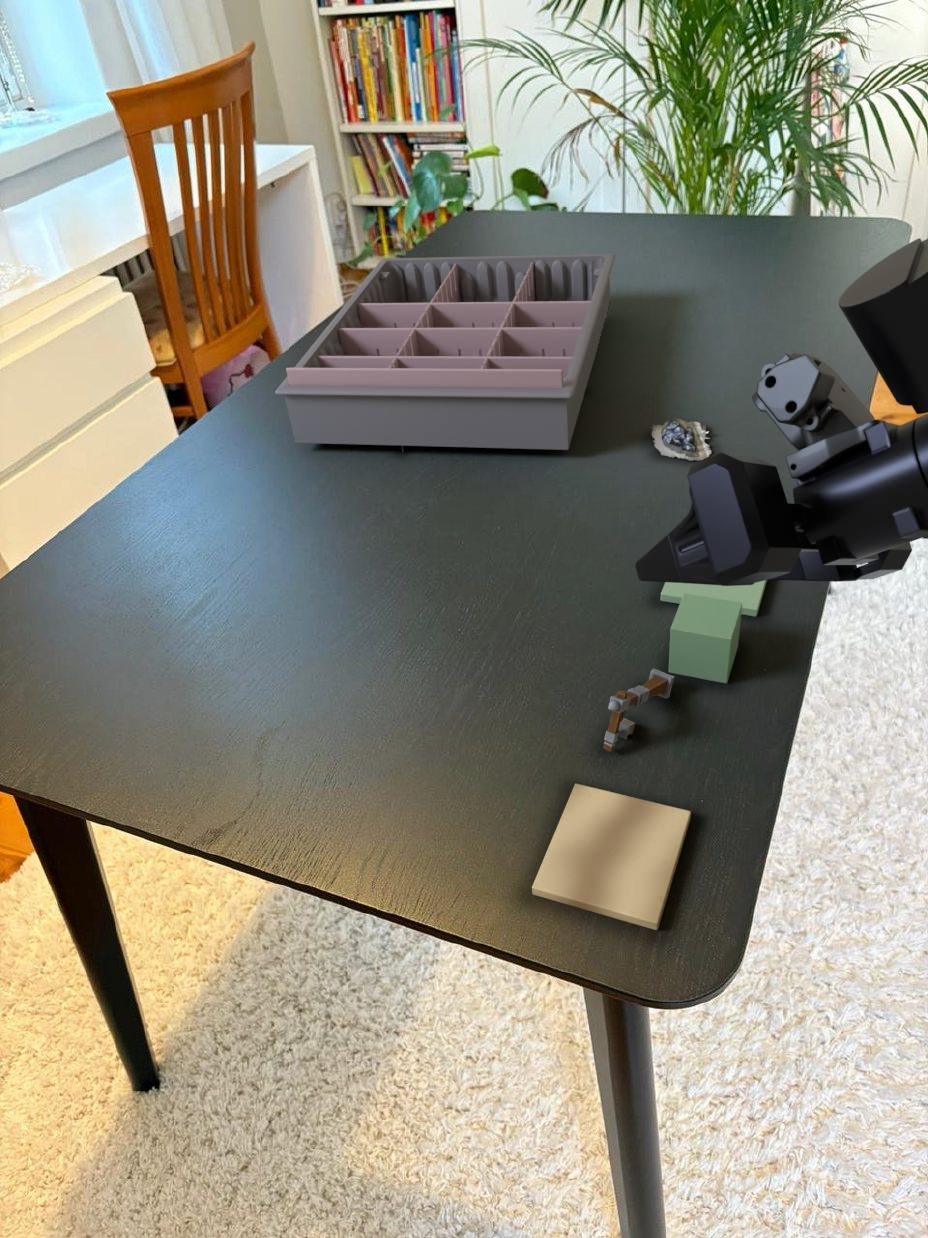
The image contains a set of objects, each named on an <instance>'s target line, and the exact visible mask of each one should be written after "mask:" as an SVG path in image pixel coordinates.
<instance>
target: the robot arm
mask: <svg viewBox="0 0 928 1238" xmlns="http://www.w3.org/2000/svg"><path fill="white" fill-rule="evenodd" d="M837 303H838V307H839V308H840V310H841V312H842V313H843V315H844V316H845V319H846V320H847V322H848V323H849V325H850V327H851V328H852V330H853V331H854V334H855V335H856V337H857V338H858V340H859V342H860V344H861V345H862V347H863V348H864V350H865V352H866V353H867V355H868V357H869V358H870V360H871V361H872V363H873V365H874V367H875V368H876V370H877V372H878V374H879V375H880V376H881V378H882V380H883V382H884V383H885V385H886V387H887V388H888V390H889V392H890V393H891V395H892V397H893V398H894V400H895V402H896V403H898V404H899V405H900V406H908V407H912V409H913V410H914V413H915V414H916V415H921V416H918V417H916V418H914V419H912V420H909V421H907V422H904V423H903V424H896V423H892V422H888V421H886V420H884V419H883V420H882V419H880V418H879V419H876V418H875V416H874V415H873V414H872V412H871V411H870V409H868V407H867V406H866V405H865V404H864V403H863V402H862V400H861V399H860V398H859V397H858V396H857V395H856V393H855V392H854V391H853V390H852V389H851V387H850V386H849V385H848V384H847V383H846V382H845V381H844V379H843V378H842V377H841V376H840V375H839V374H838V372H836V370H834V368H832V366H830V365H829V364H827V363H826V362H824V361H822V360H821V359H820V358H818V357H816V356H813V355H809V354H807V353H803V354H801V353H798V352H793V353H792V354H789V353H785V354H784V355H783V356H782V357H781V358H780V359H779V360H778V361H776V362H768V363H765V364H764V365H763V366H762V368H761V370H760V377H761V379H759V381H758V383H757V384H756V385H757V387H756V391H754V392H753V394H752V395H751V399H752V402H753V403H754V406H756V407H757V409H758V410H759V411H760V412H763V413H766V414H767V415H768V417H769V418H770V419H771V421H772V422H773V423H774V424H775V426H777V428H778V430H780V432H781V433H782V434H783V435H784V437H785V438H786V439H787V440H788V442H789V443H790V445H792V447H794V448H795V449H796V450H797V451H795V452H793V453H791V454H788V455H786V456H784V459H785V462H786V465H787V469H788V471H789V475H790V478H791V479H795V481H796V484H797V485H796V486H793V488H792V497H793V502H792V503H790V502H788V500H787V496H786V493H785V490H784V487H783V484H782V480H781V477H780V474H779V471H778V468H777V466H776V465H774V464H772V463H769V462H767V461H765V460H763V459H761V458H759V457H756V456H751V455H744V454H737V453H731V452H724V451H720V452H718V453H716V454H714V455H712V456H709V457H708V458H705V459H703V460H700V461H698V462H697V463H696V464H693V465H691V466H689V469H688V473H687V476H686V477H687V481H688V493H689V497H690V500H691V504H690V509H689V512H688V513H687V515H686V516H685V517H684V518H683V519H682V520H681V521H680V522H679V523H678V524H677V525H676V526H675V527H674V528H673V529H672V530H671V531H670V532H668V533H667V534H666V535H665V536H663V538H662V539H660V540H659V541H658V542H657V543H656V544H655V545H654V546H652V547H651V548H650V549H649V550H648V551H647V552H646V553H645V554H644V555H643V556H641V557H640V558H639V559H638V560H637V561H636V562H635V565H634V566H635V570H636V573H637V574H636V575H637V577H638V580H639V581H641V582H654V583H665V582H673V583H690V584H707V585H721V586H740V585H753V584H754V583H756V582H760V581H764V580H767V581H801V582H833V583H834V582H835V583H837V582H839V583H840V582H841V583H842V582H856V581H858V580H860V581H863V580H875V579H878V578H880V577H881V578H882V577H885V576H888V575H889V574H893V573H896V572H900V571H903V569H904V567H905V565H906V563H907V561H908V559H909V557H910V555H911V553H913V548H912V545H911V542H914V541H916V540H920V539H922V540H928V238H925V239H924V240H922V239H921V237H920V238H916V239H915V240H912V241H910V242H909V243H907V244H905V245H904V246H902V247H900V248H899V249H897V250H896V251H893V252H892V253H890V254H889V255H887V256H886V257H884V258H883V259H882V260H880V261H879V262H877V263H876V264H874V265H872V267H871V268H869V269H867V270H866V271H865V272H863V273H862V274H861V275H860V276H859V277H857V279H855V280H854V281H853V282H852V283H851V284H850V285H849V286H848V287H847V288H846V289H845V290H844V292H843V293H842V294H841V295H840V297H839V299H838V302H837Z"/></svg>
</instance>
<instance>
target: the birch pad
mask: <svg viewBox="0 0 928 1238" xmlns="http://www.w3.org/2000/svg"><path fill="white" fill-rule="evenodd" d="M691 816H692V812H691V811H690V810H687V809H683V808H679V807H676V806H675V807H674V806H671V805H666V804H662V803H657V802H655V801H650V800H647V799H642V798H637V797H633V796H629V795H626V794H621V793H618V792H612V791H610V790H605V789H600V788H598V787H597V788H596V787H592V786H588V785H584V784H580V783H574V784H573V788H572V790H571V792H570V795H569V797H568V800H567V802H566V803H565V806H564V809H563V811H562V814H561V817H560V819H559V822H558V823H557V826H556V829H555V831H554V833H553V835H552V838H551V840H550V843H549V845H548V847H547V850H546V852H545V854H544V856H543V860H542V862H541V865H540V867H539V869H538V872H537V874H536V877H535V878H534V882H533V883H532V886H531V891H532V895H533V896H536V897H540V898H544V899H547V900H551V901H553V902H557V903H560V904H563V905H567V906H571V907H575V908H578V909H581V910H585V911H587V912H588V911H589V912H591V913H595V914H598V915H602V916H606V917H609V918H612V919H616V920H619V921H622V922H626V923H629V924H633V925H636V926H640V927H644V928H647V929H651V930H653V931H658V930H659V927H660V923H661V920H662V917H663V913H664V910H665V906H666V903H667V901H668V897H669V893H670V890H671V886H672V883H673V880H674V876H675V873H676V870H677V866H678V863H679V859H680V856H681V852H682V849H683V846H684V842H685V839H686V836H687V831H688V830H689V829H688V828H689V825H690V822H691Z"/></svg>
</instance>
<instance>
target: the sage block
mask: <svg viewBox="0 0 928 1238" xmlns="http://www.w3.org/2000/svg"><path fill="white" fill-rule="evenodd" d="M741 612H742V603H741V602H735V601H729V600H722V599H716V598H710V597H704V596H698V595H692V594H686V593H684V595H683V597H682V600H681V602H680V604H678V608H677V610H676V613H675V616H674V618H673V621H672V624H671V626H670V630H669V653H668V656H669V657H668V673H670V674H674V675H680V676H685V677H689V678H690V677H691V678H696V679H701V680H705V681H710V682H716V683H720V684H728V681H729V677H730V675H731V671H732V668H733V665H734V661H735V658H736V654H737V652H738V648H739V640H740V631H741V622H742V614H741Z"/></svg>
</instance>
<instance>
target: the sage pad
mask: <svg viewBox="0 0 928 1238" xmlns="http://www.w3.org/2000/svg"><path fill="white" fill-rule="evenodd" d="M767 583H768V580H764V581H760V582H756V583H754V584H753V585H740V586H721V585H707V584H690V583H673V582H664V584H663V587H662V589H661V591H660V597H659V598H660V601H661V602H665V603H672V604H677V605H680V602H681V600H682V597H683V595H684V593H686V594H692V595H698V596H704V597H710V598H716V599H722V600H729V601H735V602H741V603H742V612H741V616H742V615H743V616H750V617H758V614H759V610H760V606H761V603H762V600H763V596H764V593H765V590H766V586H767Z"/></svg>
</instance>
